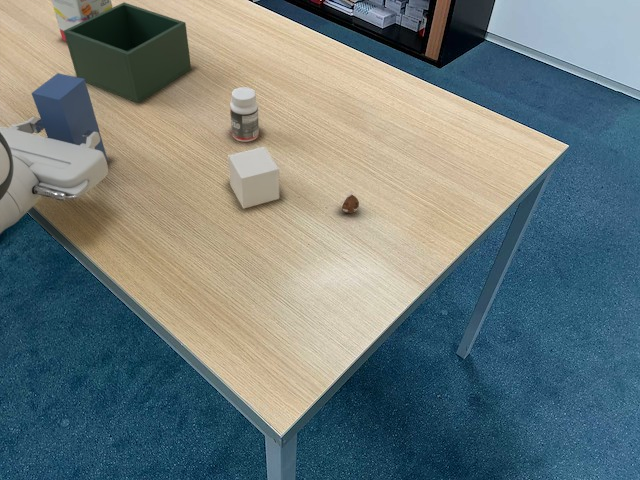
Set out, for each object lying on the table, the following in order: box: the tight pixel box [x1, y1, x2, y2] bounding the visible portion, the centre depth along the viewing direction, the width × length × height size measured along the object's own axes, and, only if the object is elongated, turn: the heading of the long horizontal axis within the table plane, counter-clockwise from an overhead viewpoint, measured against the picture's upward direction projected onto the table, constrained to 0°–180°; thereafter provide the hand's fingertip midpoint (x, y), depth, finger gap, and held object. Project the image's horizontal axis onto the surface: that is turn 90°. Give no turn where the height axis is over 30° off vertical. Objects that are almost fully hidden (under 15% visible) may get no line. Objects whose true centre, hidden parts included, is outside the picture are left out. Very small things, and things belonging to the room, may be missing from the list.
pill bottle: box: [229, 86, 260, 143], centre depth 94 cm, size 5×5×8 cm
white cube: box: [227, 146, 280, 210], centre depth 84 cm, size 6×6×6 cm
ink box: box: [51, 0, 113, 42], centre depth 114 cm, size 9×9×12 cm
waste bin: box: [63, 2, 192, 104], centre depth 106 cm, size 16×16×10 cm
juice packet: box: [31, 72, 109, 163], centre depth 83 cm, size 4×6×15 cm
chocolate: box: [340, 189, 360, 214], centre depth 83 cm, size 3×2×4 cm
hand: (67, 128), depth 81 cm, fingers open, 8 cm apart
